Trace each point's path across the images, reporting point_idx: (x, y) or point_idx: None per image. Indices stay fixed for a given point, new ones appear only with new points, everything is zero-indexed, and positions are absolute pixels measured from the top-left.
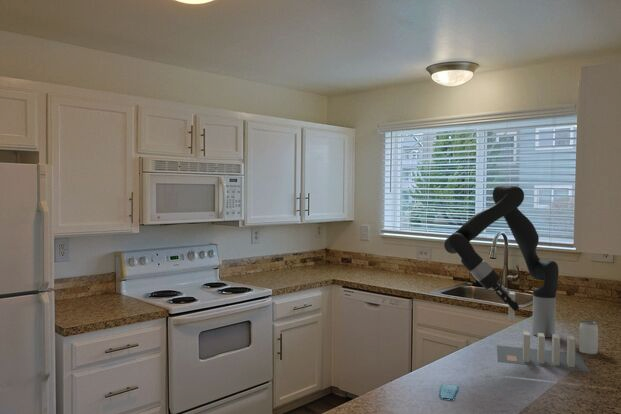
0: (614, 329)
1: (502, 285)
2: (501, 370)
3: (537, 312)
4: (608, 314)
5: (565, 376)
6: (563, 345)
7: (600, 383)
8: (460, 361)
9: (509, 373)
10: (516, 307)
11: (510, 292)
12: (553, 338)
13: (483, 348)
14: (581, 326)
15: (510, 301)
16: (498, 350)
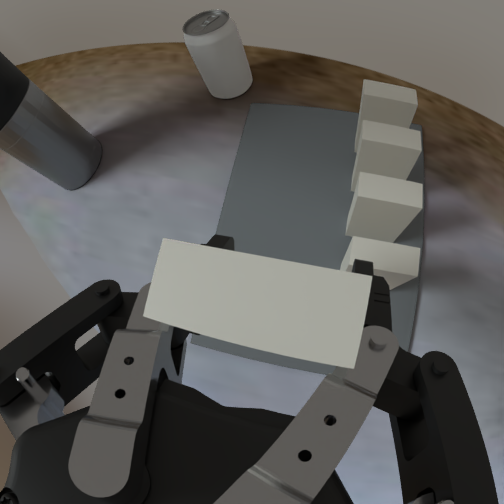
0: (81, 51)
1: (128, 478)
2: (462, 379)
3: (41, 149)
4: (24, 68)
5: (469, 196)
6: (167, 126)
7: (481, 135)
8: (383, 491)
9: (482, 357)
10: (383, 289)
11: (194, 314)
12: (403, 151)
13: (223, 398)
14: (213, 42)
15: (397, 355)
16: (257, 355)
